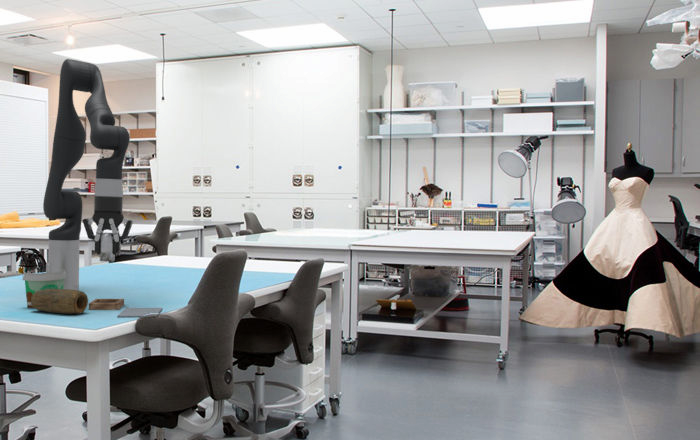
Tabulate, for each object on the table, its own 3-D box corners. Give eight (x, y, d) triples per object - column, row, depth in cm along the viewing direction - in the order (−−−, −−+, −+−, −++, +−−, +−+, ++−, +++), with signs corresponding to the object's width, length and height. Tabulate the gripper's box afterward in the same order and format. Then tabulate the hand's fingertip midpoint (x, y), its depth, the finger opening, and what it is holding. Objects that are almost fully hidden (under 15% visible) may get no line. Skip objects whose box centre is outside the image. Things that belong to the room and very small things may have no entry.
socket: (88, 309, 172) (88, 303, 172) (95, 304, 180) (96, 298, 180) (118, 309, 174) (118, 303, 173) (124, 304, 181) (124, 298, 181)
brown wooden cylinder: (91, 312, 169) (92, 288, 169) (75, 317, 162) (75, 292, 162) (44, 308, 172) (45, 285, 172) (26, 313, 165) (26, 288, 165)
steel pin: (98, 261, 174) (98, 233, 174) (101, 259, 178) (102, 232, 178) (112, 261, 175) (113, 233, 174) (115, 260, 179) (116, 232, 178)
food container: (34, 310, 169) (35, 274, 168) (22, 308, 172) (22, 272, 171) (75, 305, 179) (75, 271, 179) (62, 302, 182) (63, 269, 182)
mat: (117, 317, 163) (117, 315, 163) (126, 309, 175) (126, 307, 175) (156, 317, 165) (156, 315, 165) (162, 309, 176) (162, 307, 176)
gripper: (78, 194, 171) (77, 255, 172) (131, 196, 173) (130, 256, 174) (86, 194, 178) (85, 252, 179) (136, 195, 181) (135, 253, 181)
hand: (107, 254), depth 176 cm, fingers closed on steel pin, 4 cm apart
